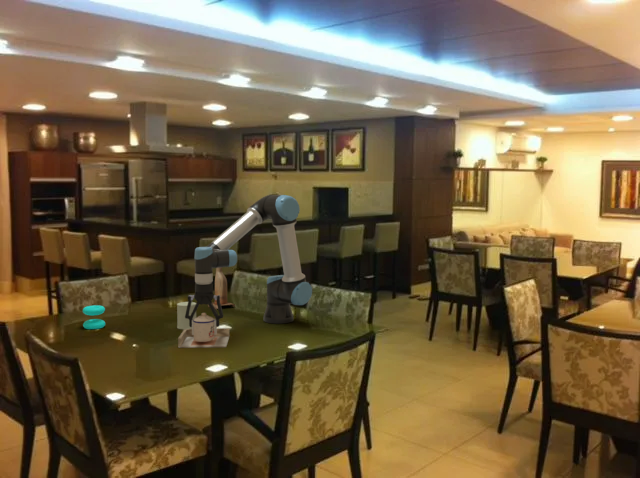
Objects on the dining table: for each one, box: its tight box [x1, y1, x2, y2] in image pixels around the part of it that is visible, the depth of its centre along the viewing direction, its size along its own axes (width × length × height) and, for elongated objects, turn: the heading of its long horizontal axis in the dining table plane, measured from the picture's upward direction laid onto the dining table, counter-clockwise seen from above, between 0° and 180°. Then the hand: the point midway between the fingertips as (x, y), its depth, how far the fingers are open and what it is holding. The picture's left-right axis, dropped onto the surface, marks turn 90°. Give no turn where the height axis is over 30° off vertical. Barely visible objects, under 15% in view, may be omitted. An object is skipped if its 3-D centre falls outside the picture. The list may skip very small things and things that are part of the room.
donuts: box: [82, 304, 106, 330], centre depth 289 cm, size 10×10×10 cm
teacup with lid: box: [193, 312, 215, 342], centre depth 263 cm, size 12×9×12 cm
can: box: [176, 301, 197, 330], centre depth 291 cm, size 9×9×12 cm
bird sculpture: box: [207, 267, 236, 310], centre depth 338 cm, size 11×12×32 cm
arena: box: [177, 327, 230, 349], centre depth 264 cm, size 20×17×4 cm
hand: (204, 334), depth 263 cm, fingers closed on teacup with lid, 9 cm apart
